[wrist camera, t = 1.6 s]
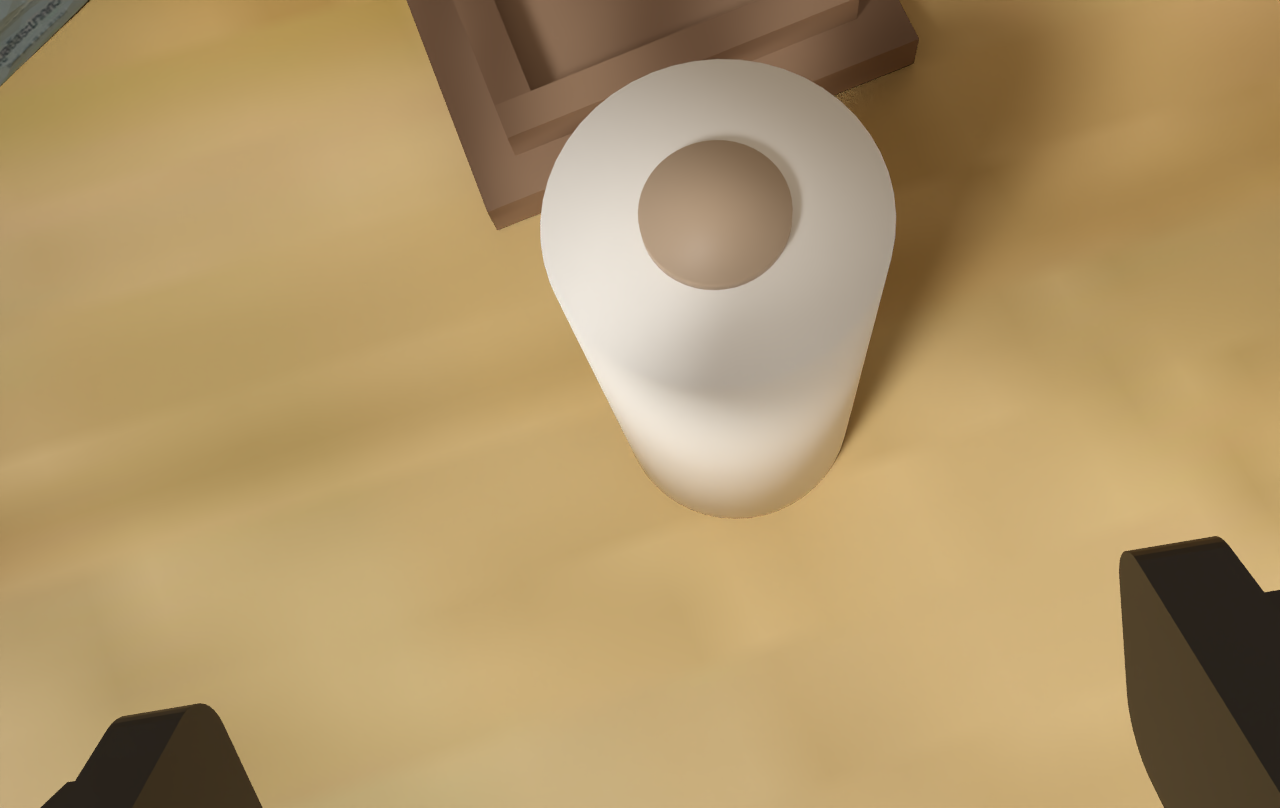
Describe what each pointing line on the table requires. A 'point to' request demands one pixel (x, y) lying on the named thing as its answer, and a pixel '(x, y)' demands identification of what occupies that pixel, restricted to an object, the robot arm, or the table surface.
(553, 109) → the walnut holder
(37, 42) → the beverage carton
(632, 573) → the table surface
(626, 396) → the paper roll
